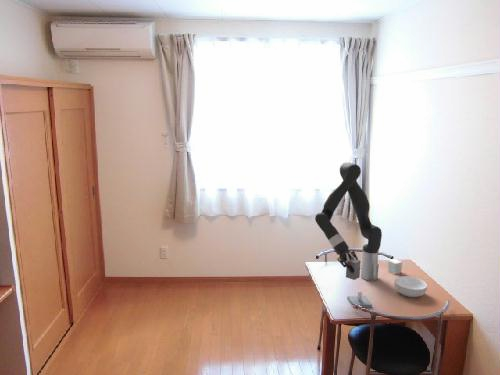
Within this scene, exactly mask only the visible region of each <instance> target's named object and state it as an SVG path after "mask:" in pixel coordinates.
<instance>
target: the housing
mask: <svg viewBox="0 0 500 375" xmlns="http://www.w3.org/2000/svg"><path fill="white" fill-rule="evenodd" d="M349 260H350V261H349V263H350V266H352V268H353V269H354V271H355V272H353V273H351V272H350V271H349V269H348V268H347V267H345V269H346V270H345V278H347V279H351V280H353V281H354V280H357V279H359V278H361V269H360V268H361V264H362V260H360V259H358V260H357V259H356V258H355V259H349ZM347 264H348V263H347Z"/></svg>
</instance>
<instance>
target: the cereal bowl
mask: <svg viewBox="0 0 500 375" xmlns="http://www.w3.org/2000/svg"><path fill="white" fill-rule="evenodd" d="M394 287H395V289H396V290H397V291H398V293H400V294H402V295H403V296H405V297H408V298H417V297H421V296H423V295H425V294H426V292H427V289H428V284H427V283H426V282H425V281H424V280H422V279H420V278H417V277H413V276H408V275H407V276H406V275H405V276H403V275H402V276H399V277H396V278H395V279H394Z"/></svg>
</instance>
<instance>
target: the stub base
mask: <svg viewBox="0 0 500 375" xmlns="http://www.w3.org/2000/svg"><path fill="white" fill-rule="evenodd" d="M346 300H348V302H349V304H350V305H351V306H352V303H355V304H357V305H360V306H362V307H361V308H373V303H372V302H371V301H370V300H369V298H368V297H367V296H366V295H363V291H358V292H357V295H348V296H347V297H346ZM352 308H355V307H354V306H352ZM355 309H356V308H355Z"/></svg>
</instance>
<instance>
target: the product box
mask: <svg viewBox="0 0 500 375" xmlns="http://www.w3.org/2000/svg"><path fill="white" fill-rule="evenodd" d="M387 262H388V263H387V273H388V272H389V273H390V272H391V274H393V275H398V274H401V273H402V269H403V268H402V267H403V261H401V260H398V259H395V258H394V259H390V260H388V261H387Z"/></svg>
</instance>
